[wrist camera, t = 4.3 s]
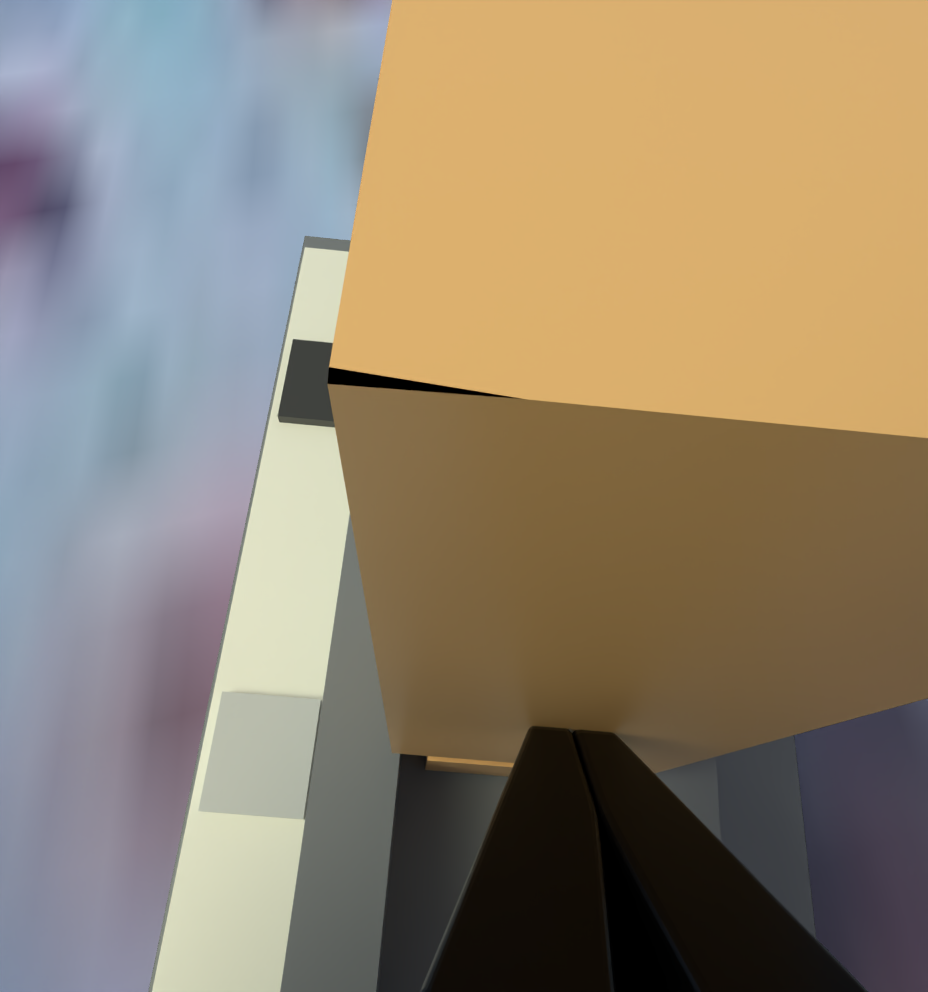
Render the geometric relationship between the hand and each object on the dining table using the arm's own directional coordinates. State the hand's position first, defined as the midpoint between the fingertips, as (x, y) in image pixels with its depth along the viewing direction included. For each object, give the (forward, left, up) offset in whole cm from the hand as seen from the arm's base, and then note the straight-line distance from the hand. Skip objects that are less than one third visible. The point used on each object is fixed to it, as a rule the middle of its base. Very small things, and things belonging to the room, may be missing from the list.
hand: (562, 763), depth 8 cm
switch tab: (+1, +1, -5) cm, 5 cm away
